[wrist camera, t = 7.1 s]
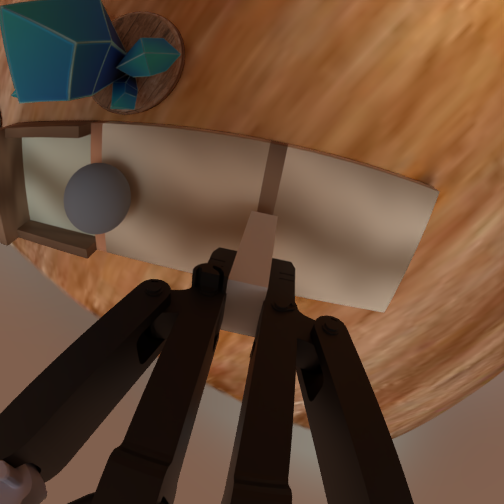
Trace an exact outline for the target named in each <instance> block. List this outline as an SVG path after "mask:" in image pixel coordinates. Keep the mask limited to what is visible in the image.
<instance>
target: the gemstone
mask: <svg viewBox="0 0 504 504" xmlns="http://www.w3.org/2000/svg"><path fill="white" fill-rule="evenodd" d="M0 26H1V32H2V38H3V43H4V48H5V52H6V57H7V61H8V65H9V69H10V73H11V77H12V81H13V84H14V88H15V91H14V92H13V94H12V95H11V96H13V97H17V98H18V101H19V103H29V102H32V103H33V102H45V101H70V100H75V99H80V98H85V97H90V96H92V97H93V99H94V100H95V101H96V102H97V103H98V104H99V105H100V106H101V107H103V108H104V109H106V110H107V111H110V112H112V113H116V114H124V115H125V114H134V113H139V112H143V111H146V110H148V109H150V108H152V107H154V106H156V105H157V104H159V103H160V102H161V101H162V100H164V99H165V98H166V97H167V96H168V95H169V94H170V92H171V91H172V90H173V88H174V87H175V85H176V84H177V82H178V80H179V78H180V75H181V73H182V69H183V66H184V59H185V49H184V43H183V40H182V37H181V35H180V33H179V31H178V30H177V28H176V27H175V26H174V25H173V24H172V23H171V22H170V21H169V20H167V19H166V18H164V17H162V16H160V15H158V14H155V13H151V12H133V13H129V14H126V15H123V16H121V17H119V18H117V19H115V20H114V21H112V22H111V20H110V18H109V16H108V14H107V12H106V10H105V8H104V6H103V4H102V2H101V0H36V1H27V2H20V3H14V4H8V5H2V6H1V7H0Z"/></svg>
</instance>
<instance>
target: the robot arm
mask: <svg viewBox="0 0 504 504" xmlns="http://www.w3.org/2000/svg"><path fill="white" fill-rule="evenodd" d="M277 219H278V216H274V215H269V214H265V213H260V212H255V211H251V214H250V216H249V219H248V222H247V225H246V228H245V231H244V234H243V237H242V240H241V242H240V245H239V248H238V251H235V250H230V249H225V248H221V247H219V248H218V249H216V250H215V251H213V252H212V254H211V256H210V259H209V261H208V263H202V264H199V265H197V266H195V267H194V269H193V275H192V287H191V288H190V289H186V290H171V288H170V286H169V285H168V284H167V283H166V282H164V281H162V280H158V279H150V280H146V281H144V282H142V283H141V284H139V285H138V286H137V287H136V288H135V289H133V290H132V291H131V292H130V293H129V294H128V295H126V296H125V297H124V298H123V299H122V300H121V301H120V302H118V303H117V304H116V305H115V306H114V307H113V308H111V309H110V310H109V311H108V312H107V313H106V314H105V315H104V316H102V317H101V318H100V319H99V320H98V321H97V322H96V323H95V324H93V325H92V326H91V327H90V328H89V329H88V330H87V331H86V332H85V333H83V334H82V335H81V336H80V337H79V338H78V339H77V340H76V341H75V342H74V343H72V344H71V345H70V346H69V347H68V348H67V349H66V350H65V351H64V352H63V353H62V354H61V355H60V356H58V357H57V358H56V359H55V360H54V361H53V362H52V363H51V364H50V365H49V366H48V367H47V368H46V369H45V370H44V371H43V372H42V373H41V374H40V375H39V376H38V377H36V378H35V380H33V381H32V382H31V383H30V384H29V385H28V386H27V387H26V388H25V389H24V390H23V391H22V392H21V394H19V395H18V396H17V397H16V398H15V399H14V400H13V401H12V402H11V403H10V405H8V406H7V408H6V409H5V410H4V411H3V412H2V413H1V414H0V504H40V503H41V502H42V501H43V500H44V499H45V498H46V497H47V491H46V486H45V482H47V481H48V480H50V479H51V478H53V477H54V476H55V475H57V474H58V473H59V472H60V471H61V470H62V469H63V468H64V467H65V466H66V465H67V464H68V462H69V461H70V460H71V459H72V458H73V457H74V455H75V454H76V453H77V452H78V450H79V449H80V448H81V447H82V446H83V445H84V443H85V442H86V441H87V440H88V439H89V437H90V436H91V435H92V434H93V433H94V431H95V430H96V429H97V428H98V426H99V425H100V424H101V423H102V422H103V421H104V419H105V418H106V417H107V416H108V414H109V413H110V412H111V411H112V410H113V409H114V407H115V406H116V405H117V404H118V403H119V401H120V400H121V399H122V398H123V397H124V395H125V394H126V393H127V392H128V391H129V390H130V388H131V387H132V386H133V385H134V384H135V382H136V381H137V380H138V379H139V377H140V376H141V375H142V374H143V373H144V372H145V370H146V369H147V368H148V367H149V366H150V364H151V363H152V362H153V361H154V360H155V359H156V357H157V356H158V355H159V354H160V353H161V354H160V356H159V358H158V360H157V363H156V365H155V367H154V369H153V372H152V374H151V377H150V379H149V381H148V383H147V385H146V388H145V390H144V392H143V395H142V397H141V400H140V402H139V404H138V407H137V409H136V411H135V414H134V416H133V419H132V421H131V423H130V426H129V428H128V431H127V433H126V436H125V438H124V440H123V442H122V444H121V445H120V446H119V447H117V448H115V449H114V450H113V452H112V453H111V455H110V457H109V459H108V461H107V464H106V466H105V469H104V471H103V474H102V477H101V479H100V482H99V484H98V487H97V490H96V492H94V493H91V494H88V495H86V496H83V497H81V498H79V499H77V500H75V501H72V502H70V503H68V504H173V502H174V498H175V494H176V489H177V482H178V478H179V475H180V471H181V467H182V464H183V460H184V457H185V453H186V450H187V446H188V443H189V439H190V436H191V432H192V429H193V425H194V421H195V418H196V414H197V411H198V408H199V404H200V400H201V397H202V394H203V390H204V387H205V383H206V380H207V376H208V373H209V370H210V366H211V363H212V359H213V356H214V352H215V349H216V345H217V342H218V338H219V331H220V328H221V330H225V331H230V332H234V333H239V334H243V335H248V336H253V337H255V339H254V343H253V346H252V350H251V354H250V357H251V358H250V363H249V368H248V374H247V379H246V385H245V390H244V395H243V400H242V406H241V411H240V416H239V422H238V426H237V432H236V437H235V442H234V447H233V452H232V457H231V462H230V467H229V472H228V477H227V481H226V486H225V491H224V495H223V499H222V502H221V504H292V492H291V489H290V487H289V485H288V474H289V464H290V452H291V440H292V427H293V412H294V395H295V376H296V372H297V376H298V380H299V384H300V388H301V392H302V396H303V400H304V405H305V409H306V413H307V417H308V421H309V425H310V429H311V433H312V437H313V442H314V446H315V450H316V455H317V459H318V463H319V467H320V472H321V476H322V480H323V485H324V489H325V493H326V497H327V502H328V504H414V503H413V500H412V497H411V494H410V490H409V488H408V484H407V482H406V478H405V475H404V472H403V470H402V467H401V464H400V461H399V458H398V455H397V452H396V449H395V447H394V444H393V441H392V438H391V436H390V433H389V430H388V428H387V425H386V422H385V420H384V417H383V414H382V412H381V409H380V407H379V404H378V402H377V399H376V397H375V394H374V392H373V389H372V387H371V384H370V382H369V379H368V377H367V374H366V372H365V370H364V367H363V365H362V363H361V360H360V358H359V355H358V353H357V351H356V348H355V346H354V344H353V342H352V339H351V337H350V335H349V332H348V330H347V328H346V326H345V325H344V323H343V322H341V321H340V320H339V319H337V318H335V317H332V316H320V317H319V318H317V319H316V321H315V320H313V319H311V318H308V317H307V316H305V315H303V314H302V313H301V312H299V310H298V308H297V305H296V303H295V267H294V266H293V264H292V262H289V261H285V260H280V259H275V258H272V256H273V249H274V241H275V234H276V226H277ZM161 351H162V352H161Z"/></svg>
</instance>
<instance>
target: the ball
mask: <svg viewBox="0 0 504 504" xmlns="http://www.w3.org/2000/svg"><path fill="white" fill-rule="evenodd" d="M130 203H131V191H130V187H129V184H128V181H127V179H126V178H125V176H124V175H123V174H122V172H121V171H119V170H118V169H117V168H115V167H114V166H112V165H109V164H106V163H92V164H88V165H86V166H84V167H82V168H80V169H79V170H78V171H77V172H75V173H74V174H73V176H72V177H71V178H70V180H69V181H68V183H67V186H66V188H65V192H64V209H65V212H66V215H67V217H68V219H69V220H70V222H71V223H72V224H73V225H74V226H75V227H76V228H77V229H79V230H80V231H82V232H85V233H88V234H103V233H107V232H109V231H111V230H113V229H114V228H116V227H117V226H118V225H119V224H120V223H121V222H122V221H123V220H124V218H125V217H126V215H127V213H128V210H129V207H130Z"/></svg>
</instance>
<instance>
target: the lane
mask: <svg viewBox="0 0 504 504" xmlns="http://www.w3.org/2000/svg"><path fill="white" fill-rule="evenodd" d="M92 163H106V164H109V165H112V166H114V167H115V168H117V169H118V170H119V171H121V172H122V174H123V175H124V176H125V178H126V179H127V181H128V184H129V187H130V191H131V203H130V207H129V210H128V213H127V215H126V217H125V218H124V220H123V221H122V222H121V223H120V224H119V225H118V226H117V227H116V228H114V229H113V230H111V231H109V232H107V233H103V234H88V233H85V232H82V231H80V230H79V229H77V228H76V227H75V226H74V225H73V224H72V223H71V222H70V220H69V219H68V217H67V215H66V212H65V209H64V192H65V188H66V186H67V183H68V181H69V180H70V178H71V177H72V176H73V174H74V173H75V172H77V171H78V170H79V169H80V168H82V167H84V166H86V165H88V164H92ZM438 194H439V191H438V190H437V189H435V188H434V187H432V186H430V185H427V184H424V183H422V182H419V181H416V180H413V179H410V178H408V177H405V176H402V175H399V174H396V173H393V172H390V171H387V170H384V169H381V168H377V167H374V166H371V165H368V164H364V163H361V162H357V161H354V160H350V159H347V158H343V157H340V156H336V155H332V154H328V153H324V152H320V151H316V150H312V149H308V148H304V147H299V146H295V145H291V144H286V143H281V142H276V141H272V140H266V139H261V138H256V137H250V136H245V135H239V134H233V133H227V132H220V131H213V130H206V129H199V128H191V127H182V126H173V125H162V124H151V123H137V122H120V121H38V122H22V123H15V124H12V125H9V126H6V127H3V128H0V242H1V243H2V244H4V245H9V244H10V243H12V242H13V241H14V240H15V239H17V238H18V237H20V238H23V239H26V240H29V241H32V242H35V243H38V244H41V245H45V246H48V247H51V248H54V249H57V250H61V251H64V252H67V253H71V254H74V255H77V256H81V257H84V258H89V257H90V256H91V255H92V254H93V253H94V252H95V251H96V250H101V251H105V252H108V253H112V254H116V255H120V256H124V257H128V258H132V259H136V260H140V261H144V262H148V263H152V264H156V265H160V266H164V267H168V268H172V269H176V270H180V271H185V272H189V273H193V269H194V267H195V266H197V265H199V264H202V263H208V261H209V259H210V256H211V254H212V252H213V251H215V250H216V249H218V248H219V247H221V248H225V249H230V250H235V251H238V248H239V245H240V242H241V240H242V237H243V234H244V231H245V228H246V225H247V222H248V219H249V216H250V214H251V211H255V212H260V213H265V214H269V215H274V216H278V219H277V226H276V234H275V241H274V249H273V256H272V258H275V259H280V260H285V261H289V262H292V264H293V266H294V267H295V296H299V297H304V298H309V299H314V300H319V301H324V302H330V303H335V304H340V305H346V306H351V307H356V308H362V309H368V310H373V311H379V312H385V310H386V308H387V307H388V305H389V303H390V301H391V299H392V297H393V295H394V294H395V292H396V290H397V288H398V286H399V284H400V282H401V280H402V278H403V276H404V274H405V272H406V270H407V268H408V266H409V264H410V261H411V259H412V257H413V255H414V253H415V251H416V248H417V246H418V244H419V242H420V239H421V237H422V235H423V232H424V230H425V228H426V225H427V223H428V220H429V218H430V215H431V213H432V210H433V208H434V205H435V203H436V200H437V197H438Z"/></svg>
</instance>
